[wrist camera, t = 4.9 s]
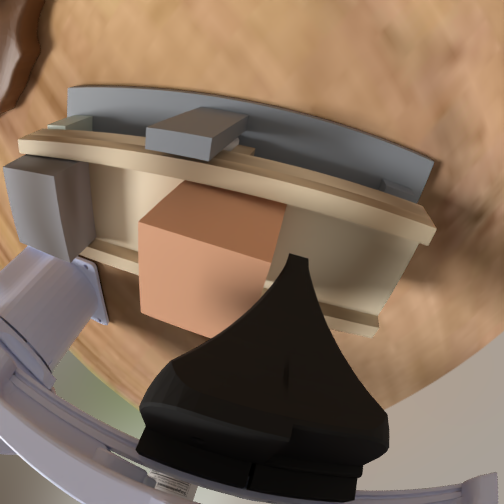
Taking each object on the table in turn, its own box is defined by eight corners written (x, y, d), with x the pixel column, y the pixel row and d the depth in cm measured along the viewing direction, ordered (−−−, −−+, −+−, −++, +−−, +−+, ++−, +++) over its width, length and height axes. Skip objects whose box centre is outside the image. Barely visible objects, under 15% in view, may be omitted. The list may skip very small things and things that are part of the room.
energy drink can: (177, 413, 37) (141, 501, 25) (176, 397, 33) (134, 498, 21) (217, 426, 37) (187, 517, 25) (221, 412, 33) (187, 517, 21)
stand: (82, 217, 20) (30, 262, 15) (76, 85, 14) (3, 107, 9) (362, 298, 19) (367, 374, 14) (429, 157, 13) (479, 208, 8)
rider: (180, 254, 14) (141, 312, 10) (189, 175, 11) (138, 221, 8) (262, 280, 14) (242, 348, 10) (287, 203, 11) (271, 262, 8)
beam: (65, 213, 17) (19, 252, 13) (56, 123, 14) (-4, 150, 10) (367, 295, 16) (374, 364, 12) (415, 195, 12) (450, 252, 8)
